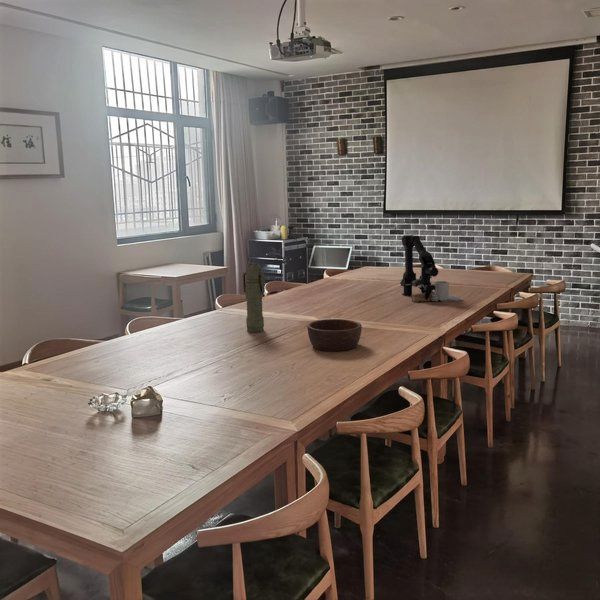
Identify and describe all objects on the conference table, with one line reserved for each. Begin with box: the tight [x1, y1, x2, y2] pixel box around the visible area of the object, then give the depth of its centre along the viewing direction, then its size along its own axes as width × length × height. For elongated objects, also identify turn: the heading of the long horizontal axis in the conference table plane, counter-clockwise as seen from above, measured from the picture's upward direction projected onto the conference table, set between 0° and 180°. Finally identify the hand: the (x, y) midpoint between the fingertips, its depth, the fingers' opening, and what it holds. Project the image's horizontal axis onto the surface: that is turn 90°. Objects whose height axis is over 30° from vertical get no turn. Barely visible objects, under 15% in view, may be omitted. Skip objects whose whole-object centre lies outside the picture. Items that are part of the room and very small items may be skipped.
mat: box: [440, 295, 464, 303], centre depth 393 cm, size 15×14×1 cm
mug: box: [431, 280, 450, 302], centre depth 391 cm, size 12×8×11 cm
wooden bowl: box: [307, 318, 363, 352], centre depth 286 cm, size 25×25×10 cm
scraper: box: [411, 292, 439, 303], centre depth 390 cm, size 11×14×4 cm
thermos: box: [242, 262, 266, 334], centre depth 316 cm, size 9×12×35 cm
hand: (425, 299), depth 390 cm, fingers closed on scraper, 4 cm apart
